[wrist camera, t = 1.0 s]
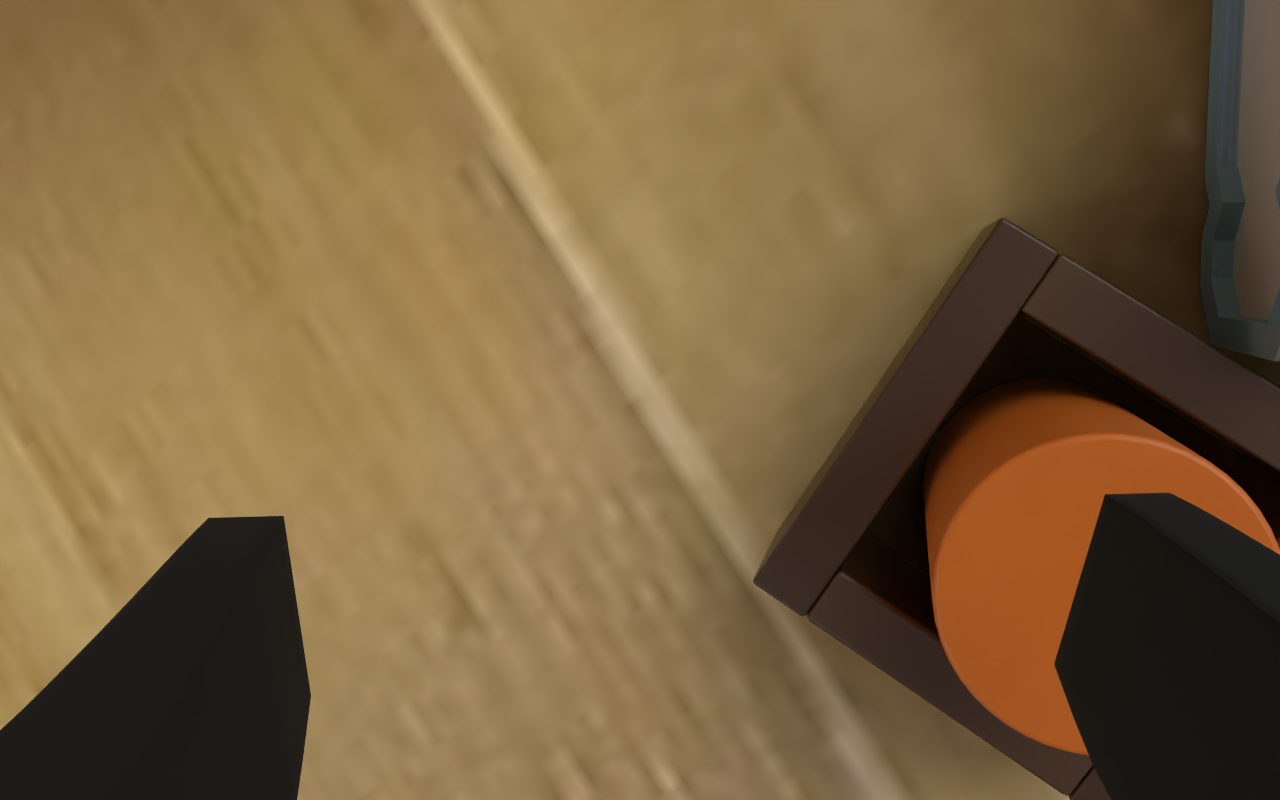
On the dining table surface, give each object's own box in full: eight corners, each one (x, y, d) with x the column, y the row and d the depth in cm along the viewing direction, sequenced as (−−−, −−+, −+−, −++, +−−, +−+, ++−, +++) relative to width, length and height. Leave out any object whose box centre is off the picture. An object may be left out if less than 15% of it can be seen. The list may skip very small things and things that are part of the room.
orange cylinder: (1207, 460, 20) (1368, 561, 13) (1068, 641, 20) (1150, 824, 14) (1007, 335, 20) (1059, 367, 13) (880, 515, 21) (868, 633, 14)
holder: (1333, 439, 19) (1425, 475, 16) (1089, 745, 20) (1126, 839, 17) (985, 225, 20) (1001, 215, 17) (775, 533, 21) (750, 583, 18)
